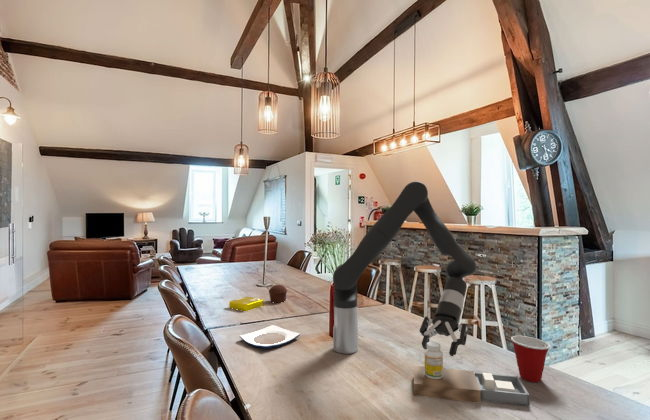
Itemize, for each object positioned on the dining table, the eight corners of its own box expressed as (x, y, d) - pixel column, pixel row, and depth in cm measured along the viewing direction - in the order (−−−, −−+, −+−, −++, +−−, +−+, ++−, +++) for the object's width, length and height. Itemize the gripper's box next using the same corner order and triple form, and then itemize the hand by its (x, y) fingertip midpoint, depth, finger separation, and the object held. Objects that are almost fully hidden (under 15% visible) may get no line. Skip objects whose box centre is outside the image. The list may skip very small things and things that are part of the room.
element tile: (247, 303, 210) (247, 295, 210) (264, 306, 202) (264, 298, 202) (227, 309, 198) (227, 300, 198) (245, 312, 189) (245, 304, 189)
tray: (481, 400, 96) (481, 389, 96) (474, 381, 107) (474, 372, 107) (529, 405, 93) (529, 394, 93) (518, 386, 104) (517, 376, 104)
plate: (303, 339, 147) (303, 333, 147) (265, 354, 132) (265, 347, 132) (273, 329, 161) (273, 323, 161) (236, 342, 146) (235, 335, 146)
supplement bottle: (439, 381, 101) (438, 349, 101) (421, 376, 104) (421, 344, 104) (446, 374, 105) (445, 343, 105) (429, 369, 108) (428, 339, 108)
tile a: (484, 379, 98) (494, 380, 97) (482, 372, 102) (491, 373, 102) (485, 395, 98) (494, 396, 97) (482, 387, 102) (491, 388, 102)
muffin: (265, 301, 211) (264, 285, 212) (279, 298, 219) (279, 282, 219) (276, 305, 203) (276, 288, 203) (291, 301, 210) (290, 285, 210)
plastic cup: (560, 385, 104) (559, 346, 104) (526, 387, 103) (525, 347, 103) (535, 369, 115) (534, 333, 115) (504, 371, 114) (503, 335, 114)
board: (414, 395, 100) (413, 383, 100) (414, 376, 111) (414, 365, 111) (480, 403, 95) (480, 390, 95) (473, 382, 107) (473, 371, 107)
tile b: (514, 389, 96) (515, 398, 96) (511, 381, 100) (511, 390, 100) (497, 387, 97) (497, 396, 97) (494, 380, 102) (494, 388, 102)
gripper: (426, 297, 118) (412, 340, 109) (469, 303, 108) (457, 351, 100) (433, 309, 122) (419, 351, 113) (474, 316, 112) (464, 363, 104)
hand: (437, 351), depth 106 cm, fingers open, 8 cm apart
